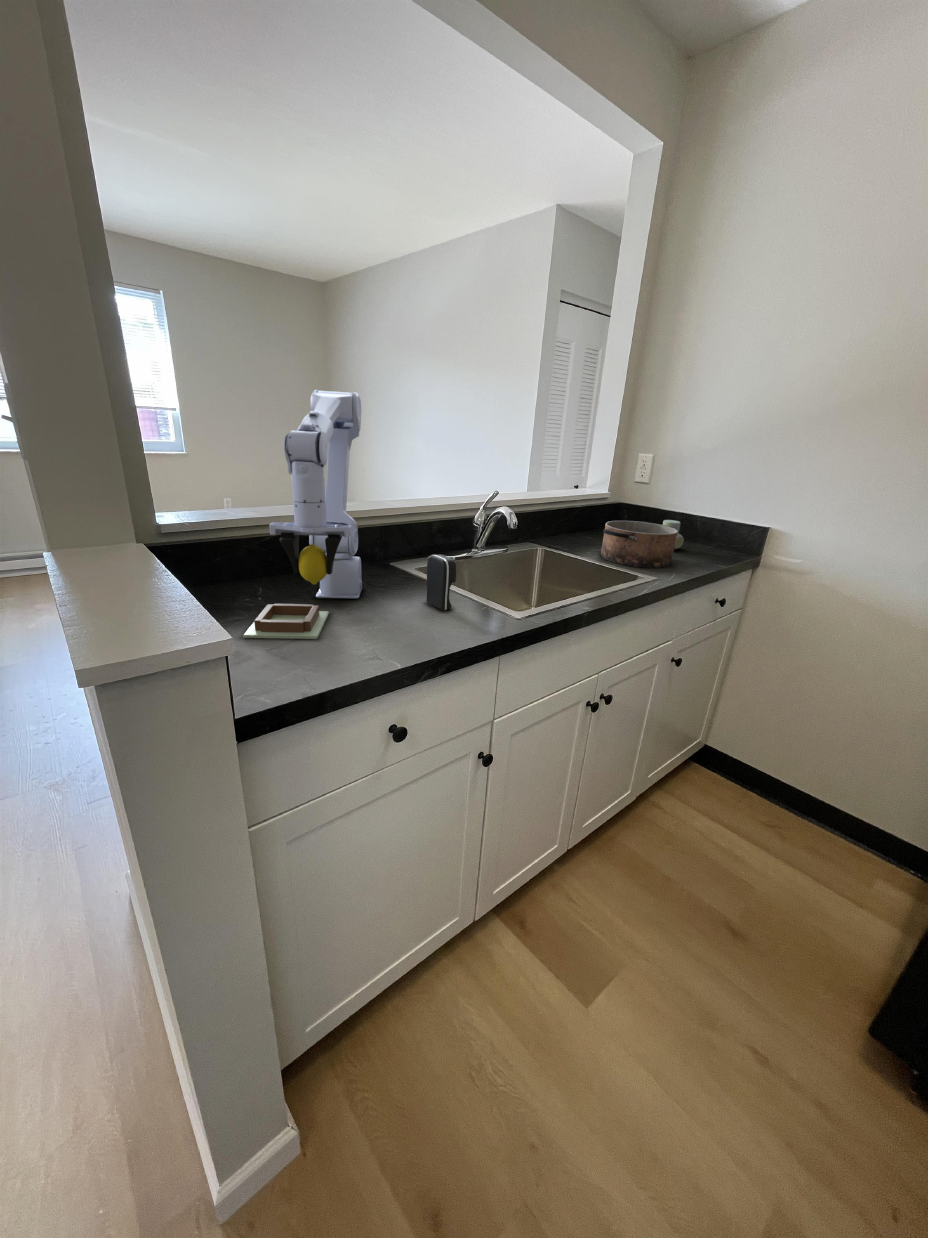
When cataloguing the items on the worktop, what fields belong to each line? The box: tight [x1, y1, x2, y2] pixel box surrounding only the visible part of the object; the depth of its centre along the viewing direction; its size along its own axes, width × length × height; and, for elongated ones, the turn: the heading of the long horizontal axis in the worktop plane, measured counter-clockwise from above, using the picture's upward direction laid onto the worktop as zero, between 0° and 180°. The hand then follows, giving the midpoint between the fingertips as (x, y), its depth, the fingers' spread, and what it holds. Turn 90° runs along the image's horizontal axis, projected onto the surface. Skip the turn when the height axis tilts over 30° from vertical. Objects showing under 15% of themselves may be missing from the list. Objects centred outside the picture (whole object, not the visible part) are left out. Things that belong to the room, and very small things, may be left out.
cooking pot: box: [600, 520, 678, 569], centre depth 162 cm, size 30×22×11 cm
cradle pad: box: [242, 603, 330, 640], centre depth 95 cm, size 13×13×3 cm
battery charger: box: [425, 554, 457, 611], centre depth 109 cm, size 7×4×11 cm, turn 37°
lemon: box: [298, 544, 327, 585], centre depth 95 cm, size 6×6×8 cm
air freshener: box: [662, 519, 685, 551], centre depth 182 cm, size 11×8×10 cm
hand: (313, 572), depth 95 cm, fingers closed on lemon, 5 cm apart
